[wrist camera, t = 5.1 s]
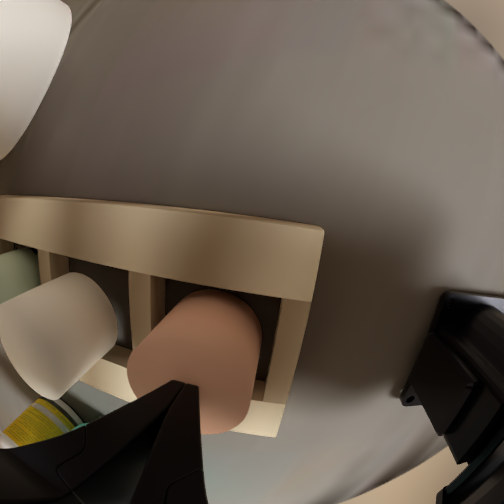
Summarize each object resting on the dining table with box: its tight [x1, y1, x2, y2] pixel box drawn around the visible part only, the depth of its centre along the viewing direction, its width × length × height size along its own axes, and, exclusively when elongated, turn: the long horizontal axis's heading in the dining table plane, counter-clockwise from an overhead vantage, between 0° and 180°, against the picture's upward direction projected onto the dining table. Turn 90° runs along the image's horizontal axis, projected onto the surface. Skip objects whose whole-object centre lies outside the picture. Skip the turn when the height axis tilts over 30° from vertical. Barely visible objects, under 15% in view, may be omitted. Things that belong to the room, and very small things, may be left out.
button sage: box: [0, 248, 41, 304], centre depth 10 cm, size 4×4×4 cm
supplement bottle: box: [0, 396, 84, 449], centre depth 11 cm, size 5×5×10 cm
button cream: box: [0, 272, 118, 400], centre depth 8 cm, size 4×4×4 cm
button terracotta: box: [127, 289, 262, 434], centre depth 9 cm, size 4×4×4 cm
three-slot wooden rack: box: [0, 195, 325, 437], centre depth 11 cm, size 19×10×2 cm, turn 83°
